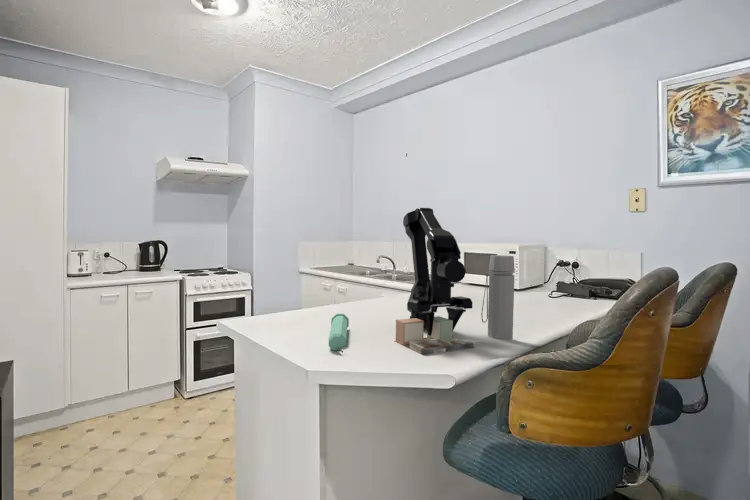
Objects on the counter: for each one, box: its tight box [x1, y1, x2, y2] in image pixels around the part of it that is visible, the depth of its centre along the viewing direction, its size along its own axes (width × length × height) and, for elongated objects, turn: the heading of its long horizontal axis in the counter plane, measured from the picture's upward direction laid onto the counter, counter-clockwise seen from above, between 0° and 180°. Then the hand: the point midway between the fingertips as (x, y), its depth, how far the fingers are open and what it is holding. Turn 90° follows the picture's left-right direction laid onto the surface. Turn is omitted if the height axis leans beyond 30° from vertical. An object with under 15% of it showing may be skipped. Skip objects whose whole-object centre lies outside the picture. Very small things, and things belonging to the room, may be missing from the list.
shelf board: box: [393, 336, 475, 356], centre depth 114 cm, size 16×15×3 cm
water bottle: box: [480, 254, 516, 341], centre depth 124 cm, size 9×8×25 cm
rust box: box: [395, 318, 425, 346], centre depth 116 cm, size 4×6×6 cm, turn 117°
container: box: [328, 313, 350, 352], centre depth 122 cm, size 6×6×25 cm
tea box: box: [426, 315, 454, 342], centre depth 119 cm, size 4×6×6 cm, turn 27°
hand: (439, 334), depth 118 cm, fingers open, 7 cm apart
